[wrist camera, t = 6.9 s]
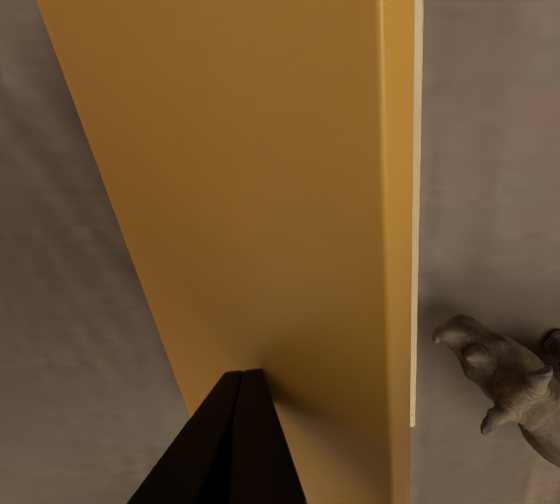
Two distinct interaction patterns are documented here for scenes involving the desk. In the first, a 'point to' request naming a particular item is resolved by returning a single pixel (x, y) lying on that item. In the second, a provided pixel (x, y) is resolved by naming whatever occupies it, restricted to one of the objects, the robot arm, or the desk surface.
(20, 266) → the desk surface
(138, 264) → the cover
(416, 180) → the wooden box
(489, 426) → the rhino figurine
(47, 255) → the desk surface
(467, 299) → the desk surface
